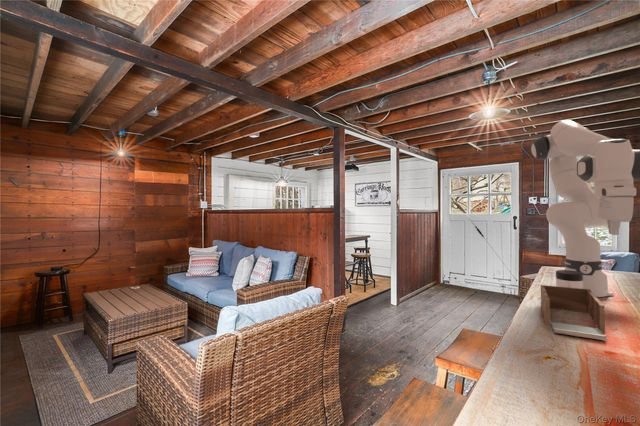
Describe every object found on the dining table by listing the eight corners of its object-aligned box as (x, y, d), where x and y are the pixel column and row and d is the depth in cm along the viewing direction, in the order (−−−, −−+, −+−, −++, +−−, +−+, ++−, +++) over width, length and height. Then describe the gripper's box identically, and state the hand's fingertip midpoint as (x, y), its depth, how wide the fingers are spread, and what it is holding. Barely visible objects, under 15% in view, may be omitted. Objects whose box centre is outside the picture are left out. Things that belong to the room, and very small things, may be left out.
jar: (590, 304, 114) (589, 273, 114) (576, 308, 111) (575, 275, 111) (563, 298, 122) (563, 269, 122) (550, 301, 119) (549, 271, 119)
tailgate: (551, 321, 96) (554, 328, 90) (599, 328, 90) (606, 336, 83) (551, 325, 96) (554, 332, 90) (599, 332, 90) (606, 340, 83)
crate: (541, 306, 114) (540, 285, 114) (590, 311, 107) (589, 289, 107) (546, 324, 97) (545, 299, 97) (605, 332, 90) (604, 305, 90)
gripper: (592, 191, 105) (592, 231, 106) (608, 190, 88) (608, 237, 89) (617, 190, 102) (617, 231, 102) (638, 189, 85) (638, 238, 85)
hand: (613, 234), depth 95 cm, fingers closed
